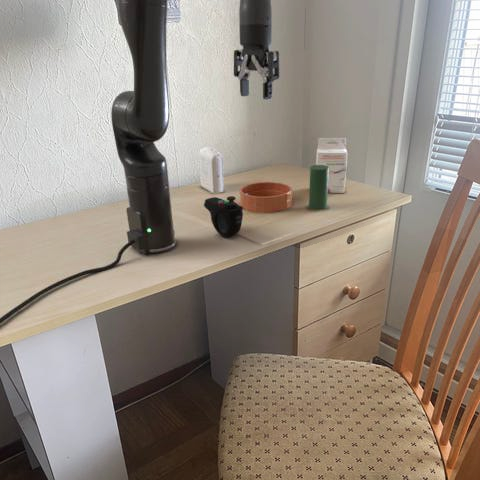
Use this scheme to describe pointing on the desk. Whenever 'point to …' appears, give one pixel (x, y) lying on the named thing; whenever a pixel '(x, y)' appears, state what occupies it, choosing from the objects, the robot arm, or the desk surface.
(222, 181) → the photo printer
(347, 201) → the desk surface
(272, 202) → the bowl
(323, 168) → the green cylinder
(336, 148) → the ink cartridge box
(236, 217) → the controller
